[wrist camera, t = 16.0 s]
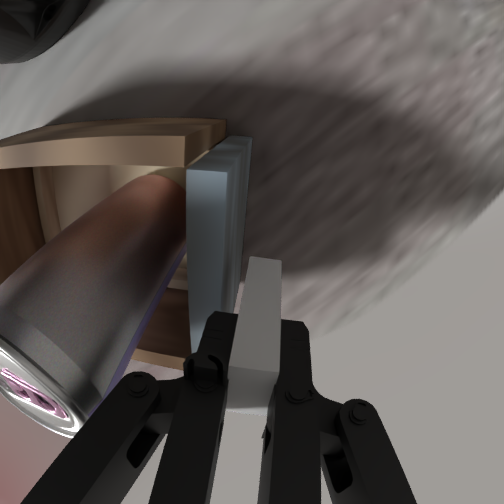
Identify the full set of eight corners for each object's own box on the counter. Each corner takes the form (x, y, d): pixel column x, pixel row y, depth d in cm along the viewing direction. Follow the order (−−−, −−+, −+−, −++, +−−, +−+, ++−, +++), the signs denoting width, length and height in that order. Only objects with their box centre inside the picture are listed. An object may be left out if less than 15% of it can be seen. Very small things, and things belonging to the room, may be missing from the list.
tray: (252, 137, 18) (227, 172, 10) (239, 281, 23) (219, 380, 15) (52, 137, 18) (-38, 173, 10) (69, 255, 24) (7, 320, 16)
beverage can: (198, 257, 21) (114, 459, 8) (124, 245, 21) (4, 405, 8) (202, 176, 18) (53, 368, 5) (119, 168, 18) (-61, 303, 5)
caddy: (226, 119, 18) (184, 136, 10) (217, 285, 24) (191, 372, 16) (42, 126, 18) (-39, 155, 11) (61, 260, 25) (6, 317, 17)
